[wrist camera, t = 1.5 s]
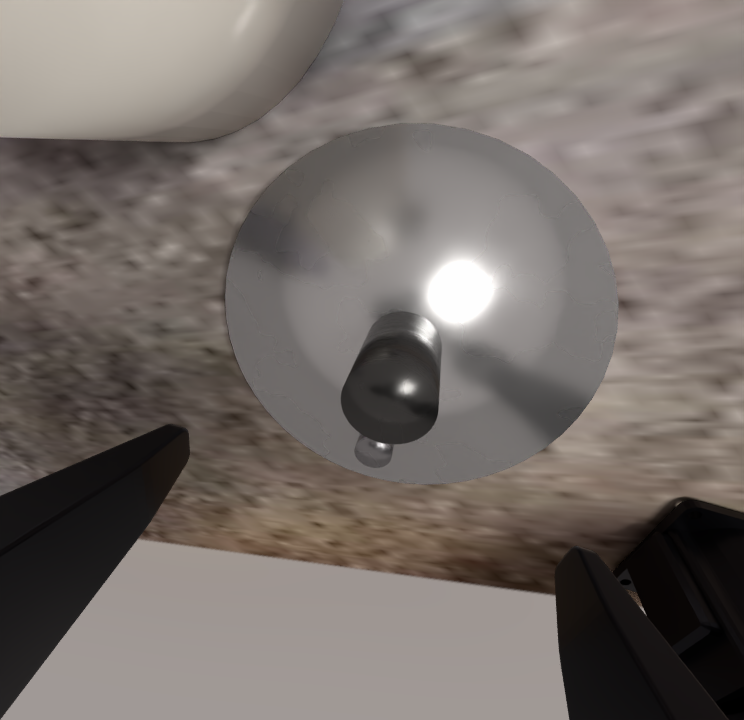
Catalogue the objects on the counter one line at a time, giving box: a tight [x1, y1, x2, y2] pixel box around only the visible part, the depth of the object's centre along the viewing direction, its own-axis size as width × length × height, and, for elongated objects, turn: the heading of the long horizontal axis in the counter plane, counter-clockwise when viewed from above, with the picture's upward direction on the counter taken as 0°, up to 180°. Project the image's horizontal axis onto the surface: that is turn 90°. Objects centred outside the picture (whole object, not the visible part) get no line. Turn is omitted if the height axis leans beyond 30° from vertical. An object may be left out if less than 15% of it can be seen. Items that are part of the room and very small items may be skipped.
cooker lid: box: [225, 124, 618, 484], centre depth 14 cm, size 15×15×5 cm
